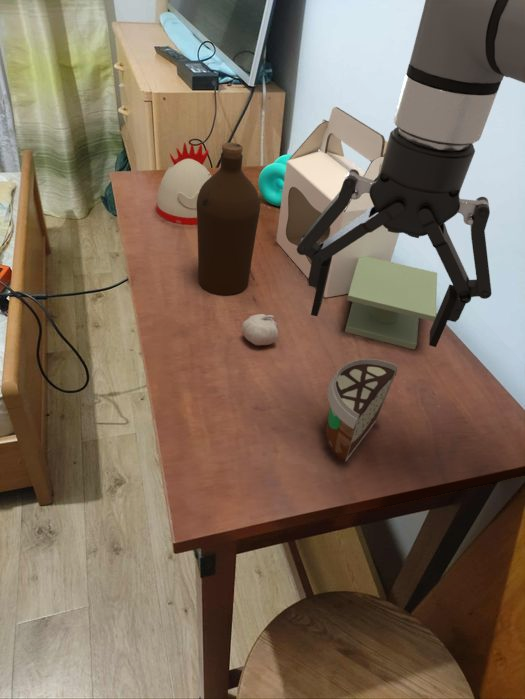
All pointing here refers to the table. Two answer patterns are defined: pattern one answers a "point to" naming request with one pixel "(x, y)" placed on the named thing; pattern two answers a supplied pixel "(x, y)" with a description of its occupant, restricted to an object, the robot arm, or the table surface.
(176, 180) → the kitchen timer
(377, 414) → the food container
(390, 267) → the stand
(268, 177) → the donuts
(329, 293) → the gable box
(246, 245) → the olive oil
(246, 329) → the garlic
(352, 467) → the table surface
